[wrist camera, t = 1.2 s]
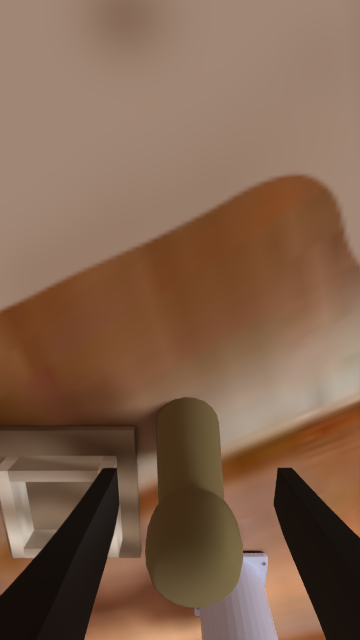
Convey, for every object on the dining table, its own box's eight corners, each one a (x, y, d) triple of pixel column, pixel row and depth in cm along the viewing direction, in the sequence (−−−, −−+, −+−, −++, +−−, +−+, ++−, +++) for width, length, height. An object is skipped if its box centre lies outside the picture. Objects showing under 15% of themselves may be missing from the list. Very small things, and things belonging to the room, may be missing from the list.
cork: (159, 454, 22) (139, 634, 11) (152, 399, 20) (122, 543, 10) (220, 450, 21) (260, 627, 11) (217, 395, 20) (261, 535, 9)
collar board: (141, 550, 24) (137, 577, 22) (15, 551, 24) (-1, 578, 22) (135, 426, 21) (130, 443, 19) (-12, 426, 21) (-34, 443, 19)
